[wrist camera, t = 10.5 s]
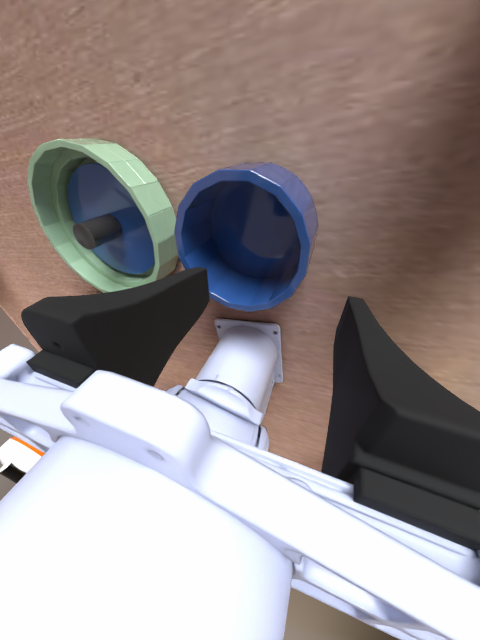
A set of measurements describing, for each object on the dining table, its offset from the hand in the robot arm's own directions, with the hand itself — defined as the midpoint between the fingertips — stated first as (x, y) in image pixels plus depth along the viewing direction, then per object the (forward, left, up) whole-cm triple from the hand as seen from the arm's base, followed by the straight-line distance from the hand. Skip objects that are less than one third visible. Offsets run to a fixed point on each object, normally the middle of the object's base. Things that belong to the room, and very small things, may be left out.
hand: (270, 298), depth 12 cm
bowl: (+2, +19, -10) cm, 21 cm away
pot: (+1, +4, -10) cm, 11 cm away
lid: (+2, +19, -9) cm, 21 cm away
